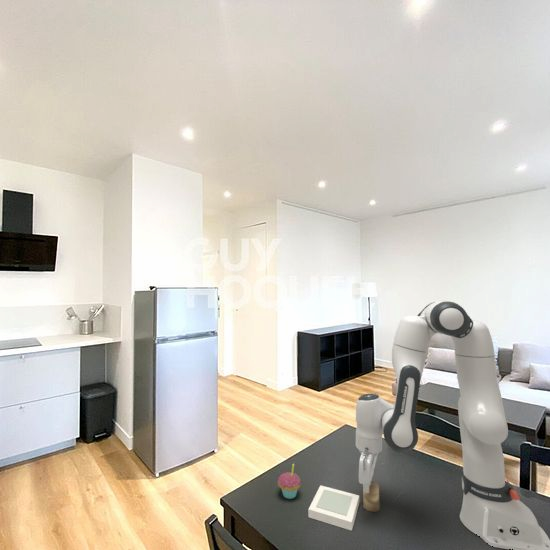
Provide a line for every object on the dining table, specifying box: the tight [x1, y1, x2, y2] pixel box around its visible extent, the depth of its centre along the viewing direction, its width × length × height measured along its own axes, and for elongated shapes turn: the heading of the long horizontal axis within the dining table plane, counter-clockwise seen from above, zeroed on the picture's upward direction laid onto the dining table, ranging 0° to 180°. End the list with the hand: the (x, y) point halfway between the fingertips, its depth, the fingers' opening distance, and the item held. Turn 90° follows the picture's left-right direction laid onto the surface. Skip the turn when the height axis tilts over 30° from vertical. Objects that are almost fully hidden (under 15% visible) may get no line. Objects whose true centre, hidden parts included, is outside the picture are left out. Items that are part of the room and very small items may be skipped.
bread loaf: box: [362, 480, 380, 513], centre depth 105 cm, size 5×5×7 cm
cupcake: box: [277, 462, 302, 500], centre depth 111 cm, size 9×8×12 cm
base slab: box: [307, 484, 360, 531], centre depth 103 cm, size 14×14×3 cm
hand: (368, 483), depth 105 cm, fingers open, 8 cm apart
